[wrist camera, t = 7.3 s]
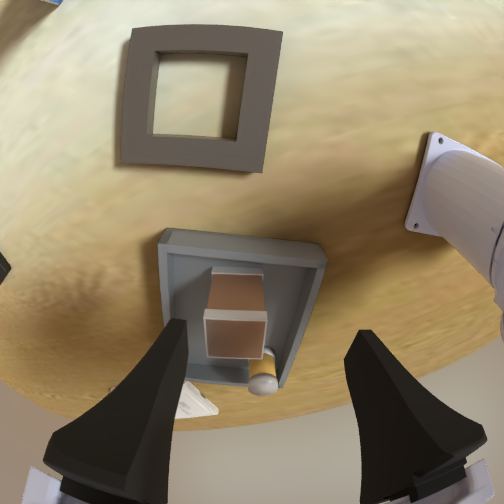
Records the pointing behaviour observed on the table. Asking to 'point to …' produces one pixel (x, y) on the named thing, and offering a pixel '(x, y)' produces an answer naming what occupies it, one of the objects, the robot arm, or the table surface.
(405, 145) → the table surface
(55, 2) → the medicine box
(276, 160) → the table surface
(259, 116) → the grey square frame
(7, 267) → the multimeter
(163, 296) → the parts tray
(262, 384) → the cylinder
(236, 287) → the block
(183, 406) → the external hard drive
